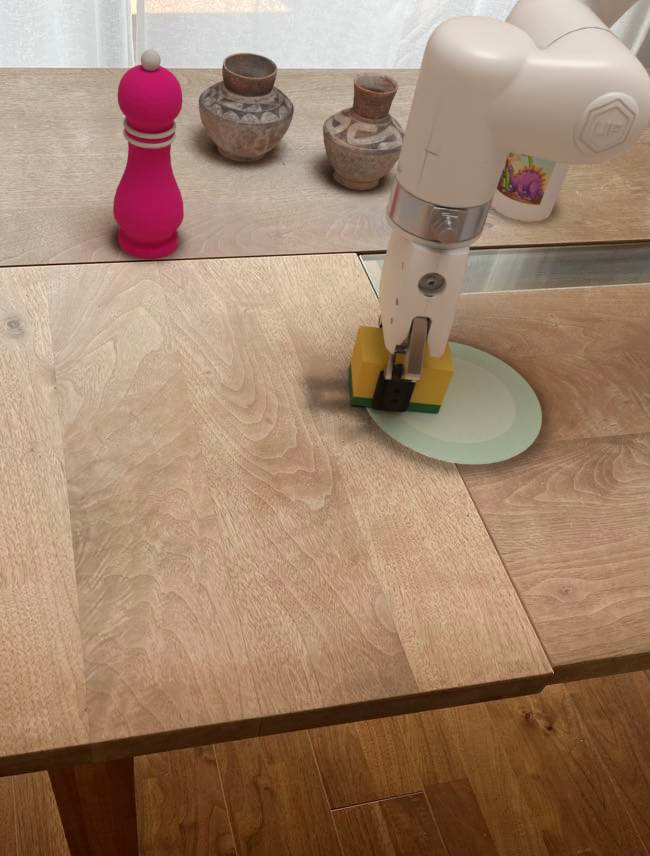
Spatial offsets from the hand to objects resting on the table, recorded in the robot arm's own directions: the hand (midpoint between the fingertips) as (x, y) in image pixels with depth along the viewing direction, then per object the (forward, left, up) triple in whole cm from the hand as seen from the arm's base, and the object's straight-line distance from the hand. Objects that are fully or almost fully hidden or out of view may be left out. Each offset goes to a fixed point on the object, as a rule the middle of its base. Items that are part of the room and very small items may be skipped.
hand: (386, 385), depth 81 cm
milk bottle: (-19, -37, -2) cm, 42 cm away
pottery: (+8, -41, -2) cm, 42 cm away
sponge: (-1, 0, -1) cm, 1 cm away
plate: (-6, 0, -2) cm, 6 cm away
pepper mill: (+24, -21, -2) cm, 32 cm away
